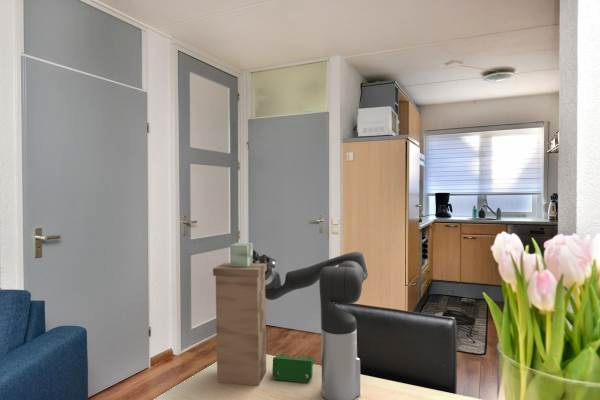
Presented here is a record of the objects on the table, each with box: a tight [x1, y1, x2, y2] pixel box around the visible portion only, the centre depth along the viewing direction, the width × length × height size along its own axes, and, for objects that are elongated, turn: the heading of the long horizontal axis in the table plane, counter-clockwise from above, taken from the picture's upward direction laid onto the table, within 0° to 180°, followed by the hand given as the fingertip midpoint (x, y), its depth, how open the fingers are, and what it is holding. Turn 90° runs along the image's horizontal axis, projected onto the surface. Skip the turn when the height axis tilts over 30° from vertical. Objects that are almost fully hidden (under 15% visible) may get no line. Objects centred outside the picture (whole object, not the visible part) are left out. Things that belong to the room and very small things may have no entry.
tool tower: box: [212, 262, 267, 386], centre depth 110 cm, size 9×13×32 cm
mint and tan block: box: [229, 242, 254, 267], centre depth 115 cm, size 14×5×6 cm, turn 170°
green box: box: [271, 354, 315, 383], centre depth 111 cm, size 12×6×9 cm, turn 71°
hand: (248, 253), depth 117 cm, fingers closed on mint and tan block, 2 cm apart
